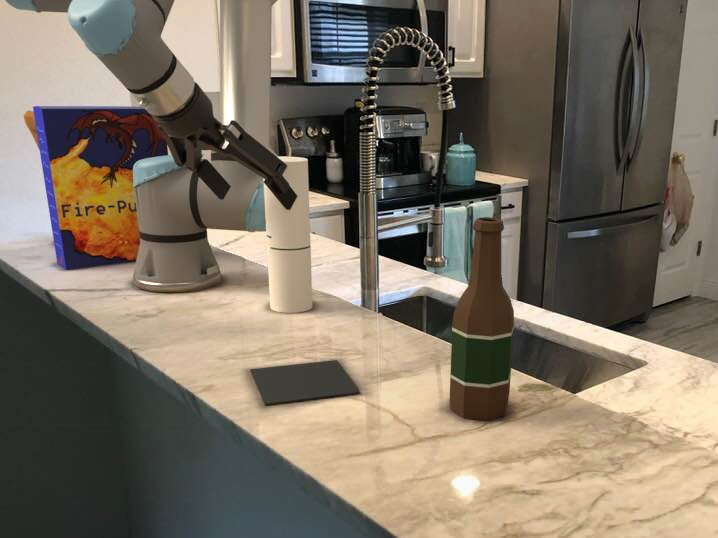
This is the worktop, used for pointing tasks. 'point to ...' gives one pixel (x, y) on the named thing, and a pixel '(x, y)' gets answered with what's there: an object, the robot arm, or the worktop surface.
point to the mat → (302, 382)
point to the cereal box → (94, 179)
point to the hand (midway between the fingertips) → (258, 197)
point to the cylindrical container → (289, 242)
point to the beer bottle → (482, 332)
